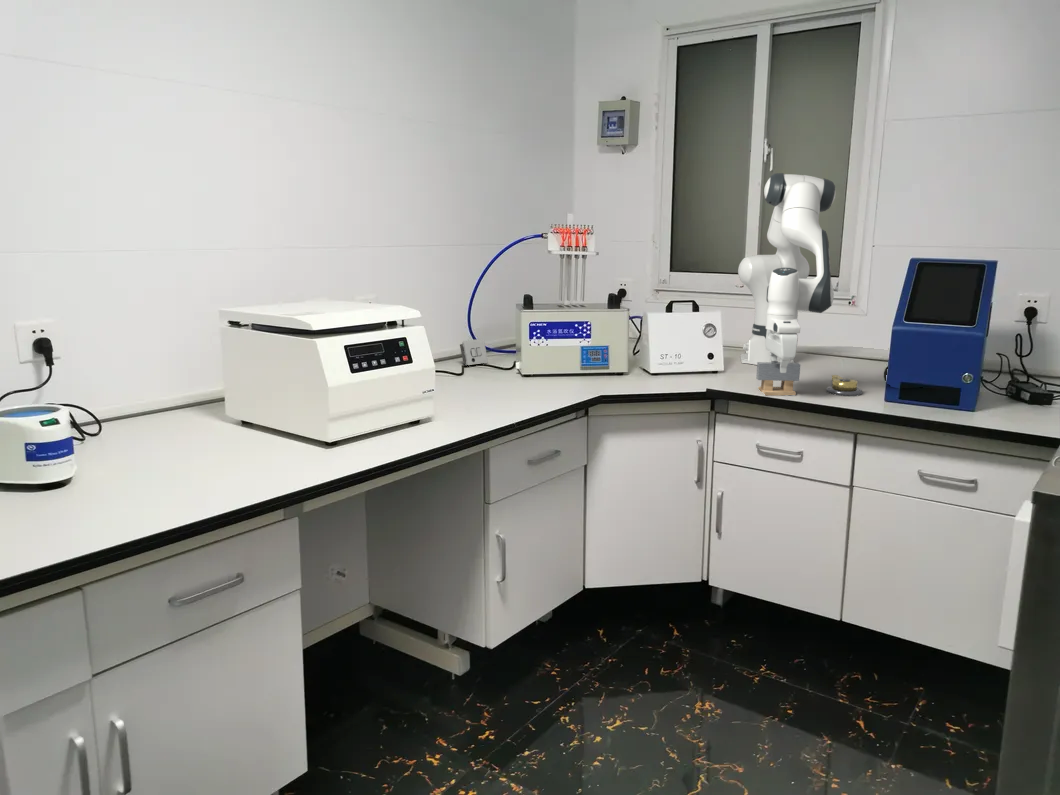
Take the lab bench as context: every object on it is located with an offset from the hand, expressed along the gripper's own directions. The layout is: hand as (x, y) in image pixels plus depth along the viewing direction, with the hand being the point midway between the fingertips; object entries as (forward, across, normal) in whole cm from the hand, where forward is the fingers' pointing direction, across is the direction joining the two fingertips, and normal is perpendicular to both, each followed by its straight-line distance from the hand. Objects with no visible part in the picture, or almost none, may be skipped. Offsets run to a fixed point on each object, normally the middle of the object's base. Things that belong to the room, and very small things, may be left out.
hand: (778, 369), depth 237 cm
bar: (+3, 0, 0) cm, 3 cm away
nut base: (+7, -1, +20) cm, 22 cm away
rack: (+7, 0, 0) cm, 7 cm away
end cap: (+7, -11, +42) cm, 45 cm away
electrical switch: (+7, -45, -96) cm, 107 cm away
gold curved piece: (+6, -4, +21) cm, 22 cm away
